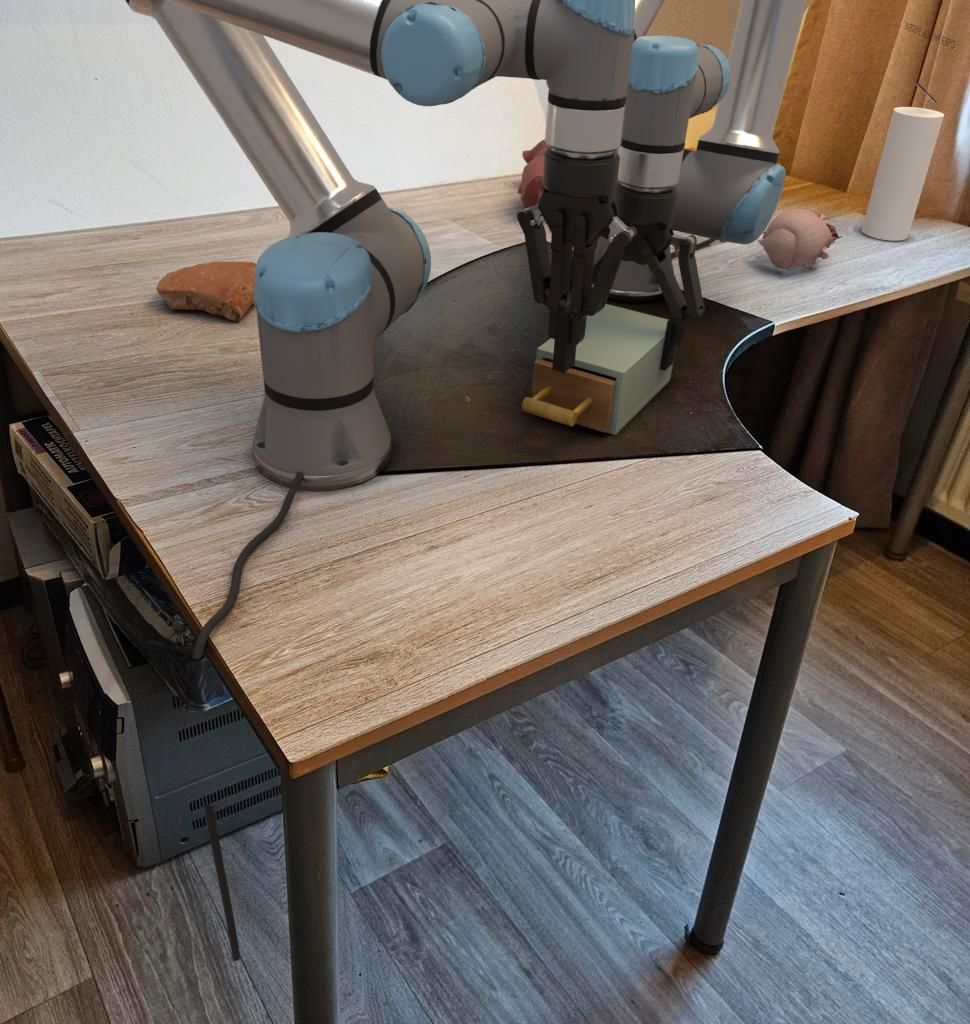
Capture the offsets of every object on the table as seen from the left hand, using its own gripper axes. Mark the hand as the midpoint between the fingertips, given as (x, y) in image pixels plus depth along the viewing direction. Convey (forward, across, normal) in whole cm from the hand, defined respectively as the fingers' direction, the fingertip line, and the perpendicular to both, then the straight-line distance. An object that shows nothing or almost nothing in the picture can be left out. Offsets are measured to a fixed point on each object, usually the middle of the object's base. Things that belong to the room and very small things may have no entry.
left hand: (563, 366), depth 108 cm
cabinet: (+9, 0, -14) cm, 17 cm away
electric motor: (+9, +56, -46) cm, 73 cm away
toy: (+10, -6, -78) cm, 79 cm away
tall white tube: (+10, -15, -107) cm, 109 cm away
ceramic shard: (+9, +61, -8) cm, 63 cm away
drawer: (+8, 0, -9) cm, 12 cm away
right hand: (+6, 0, -19) cm, 20 cm away
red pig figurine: (+9, +40, -86) cm, 96 cm away
